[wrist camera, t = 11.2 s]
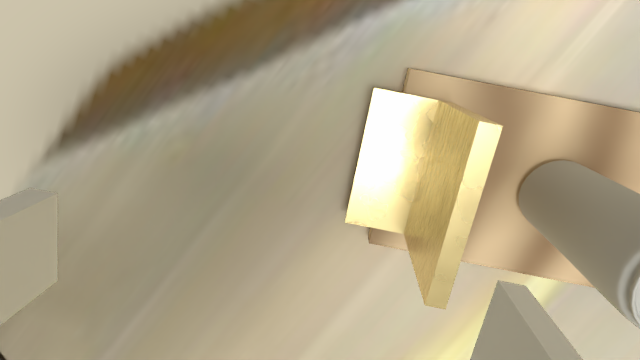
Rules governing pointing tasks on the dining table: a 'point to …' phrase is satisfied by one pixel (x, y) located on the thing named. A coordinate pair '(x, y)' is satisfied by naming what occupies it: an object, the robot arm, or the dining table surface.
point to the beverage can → (589, 227)
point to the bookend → (423, 180)
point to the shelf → (529, 165)
